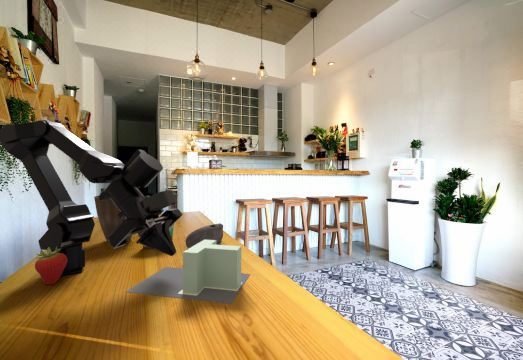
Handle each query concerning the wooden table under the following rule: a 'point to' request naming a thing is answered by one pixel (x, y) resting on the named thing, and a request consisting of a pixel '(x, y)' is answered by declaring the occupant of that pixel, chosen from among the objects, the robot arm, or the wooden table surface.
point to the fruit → (50, 265)
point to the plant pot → (108, 216)
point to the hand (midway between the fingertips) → (174, 254)
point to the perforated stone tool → (205, 235)
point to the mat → (172, 286)
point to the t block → (211, 267)
